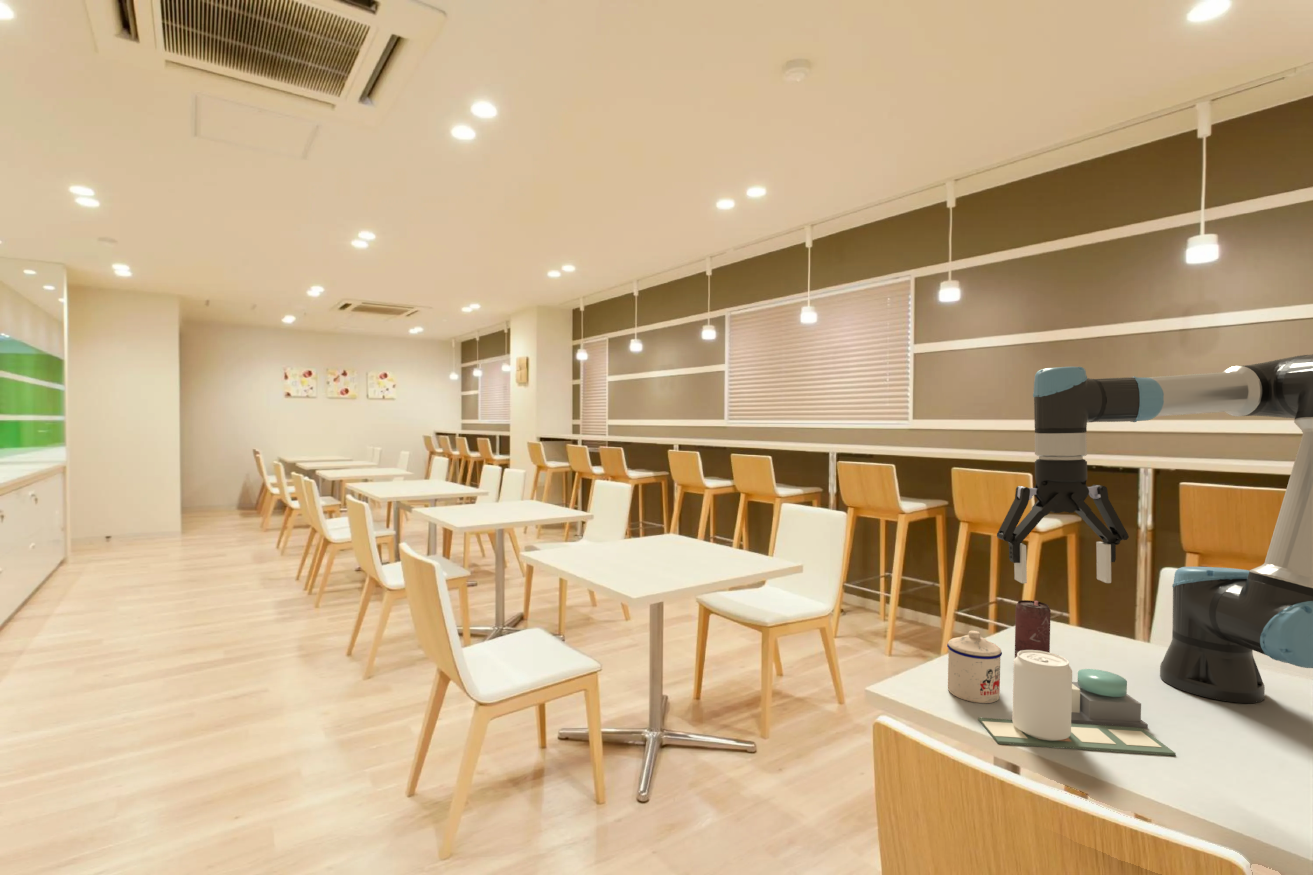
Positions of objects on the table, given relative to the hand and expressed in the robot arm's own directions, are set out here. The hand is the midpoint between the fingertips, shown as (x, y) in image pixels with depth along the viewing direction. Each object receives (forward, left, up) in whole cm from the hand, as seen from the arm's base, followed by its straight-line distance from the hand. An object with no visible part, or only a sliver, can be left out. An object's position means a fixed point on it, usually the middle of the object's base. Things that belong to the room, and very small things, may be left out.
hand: (1062, 581), depth 108 cm
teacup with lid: (+11, -8, -24) cm, 27 cm away
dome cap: (-8, -2, -22) cm, 24 cm away
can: (-4, -20, -24) cm, 31 cm away
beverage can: (+6, +7, -23) cm, 25 cm away
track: (+2, +8, -23) cm, 25 cm away
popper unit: (-5, -2, -23) cm, 24 cm away
